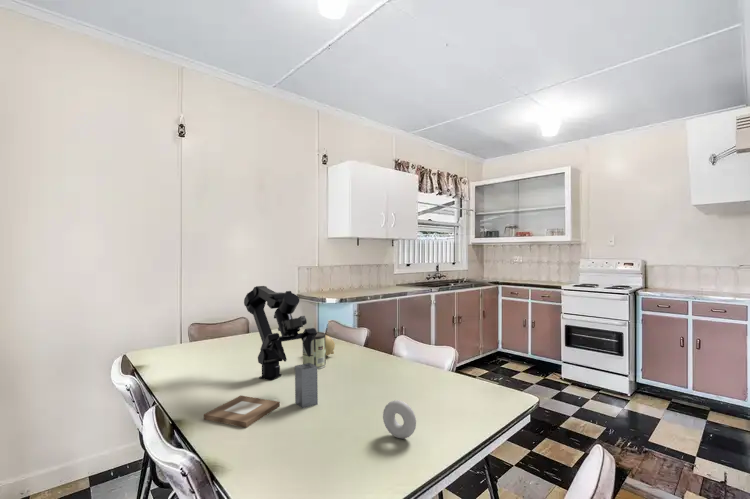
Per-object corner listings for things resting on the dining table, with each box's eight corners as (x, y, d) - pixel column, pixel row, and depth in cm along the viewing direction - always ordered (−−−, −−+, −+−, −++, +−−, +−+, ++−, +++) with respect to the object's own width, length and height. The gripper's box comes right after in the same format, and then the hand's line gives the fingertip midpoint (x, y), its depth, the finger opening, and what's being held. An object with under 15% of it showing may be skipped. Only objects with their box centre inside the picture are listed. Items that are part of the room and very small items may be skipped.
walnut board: (203, 419, 115) (203, 413, 115) (240, 399, 130) (240, 395, 130) (246, 427, 109) (246, 422, 109) (279, 406, 124) (279, 401, 124)
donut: (380, 435, 104) (380, 398, 104) (387, 430, 107) (387, 394, 107) (412, 445, 98) (412, 407, 98) (418, 440, 101) (418, 402, 101)
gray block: (295, 403, 127) (295, 365, 127) (310, 399, 130) (310, 362, 130) (302, 408, 122) (301, 369, 122) (317, 404, 125) (317, 366, 125)
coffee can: (309, 361, 174) (309, 331, 174) (329, 363, 170) (329, 332, 171) (297, 368, 164) (297, 336, 164) (319, 370, 161) (318, 337, 161)
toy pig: (323, 352, 190) (323, 331, 191) (338, 356, 182) (338, 334, 182) (307, 356, 184) (307, 334, 184) (322, 361, 175) (322, 338, 175)
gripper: (267, 311, 131) (279, 351, 123) (315, 306, 142) (329, 342, 134) (258, 329, 138) (270, 368, 129) (305, 323, 149) (318, 358, 140)
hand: (298, 358), depth 133 cm, fingers open, 9 cm apart
